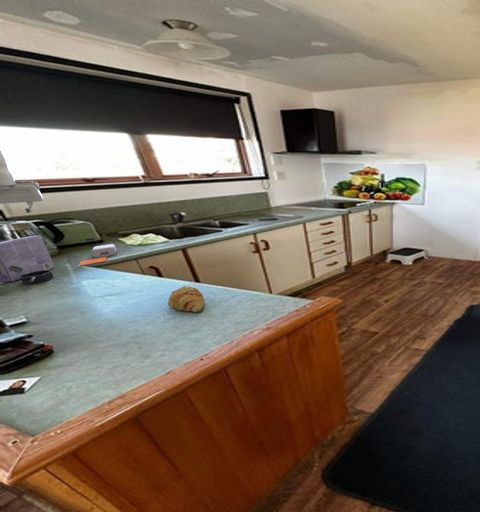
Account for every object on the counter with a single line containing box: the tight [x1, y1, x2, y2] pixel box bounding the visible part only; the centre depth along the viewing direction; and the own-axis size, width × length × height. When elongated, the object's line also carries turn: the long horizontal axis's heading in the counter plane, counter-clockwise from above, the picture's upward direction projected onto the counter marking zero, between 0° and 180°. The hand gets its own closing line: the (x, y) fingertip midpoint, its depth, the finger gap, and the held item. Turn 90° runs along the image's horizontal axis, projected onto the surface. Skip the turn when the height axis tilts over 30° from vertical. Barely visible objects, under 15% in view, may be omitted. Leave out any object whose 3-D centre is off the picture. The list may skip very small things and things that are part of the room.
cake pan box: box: [0, 234, 56, 283], centre depth 128 cm, size 19×5×18 cm, turn 3°
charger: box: [91, 243, 117, 258], centre depth 161 cm, size 5×9×15 cm
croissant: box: [167, 286, 205, 313], centre depth 98 cm, size 21×10×8 cm
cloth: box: [78, 256, 108, 267], centre depth 147 cm, size 10×10×1 cm
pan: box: [19, 269, 55, 285], centre depth 123 cm, size 9×9×4 cm
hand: (12, 213), depth 119 cm, fingers open, 8 cm apart
